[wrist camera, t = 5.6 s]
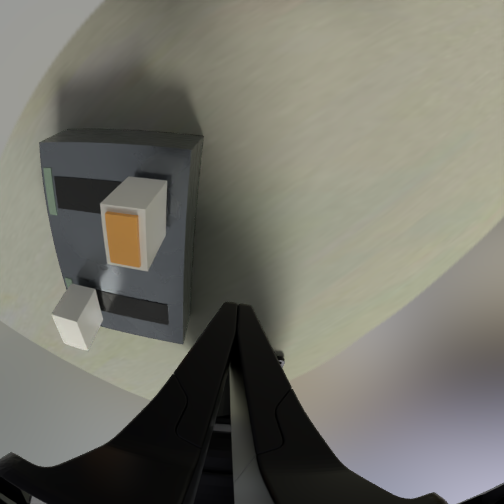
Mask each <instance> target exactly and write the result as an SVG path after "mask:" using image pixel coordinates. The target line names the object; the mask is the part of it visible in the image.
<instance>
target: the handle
mask: <svg viewBox="0 0 504 504" xmlns="http://www.w3.org/2000/svg"><path fill="white" fill-rule="evenodd" d="M51 315H52V317H53V319H54V322H55V324H56V326H57V328H58V331H59V333H60V335H61V337H62V339H63V341H64V344H67V345H70V346H73V347H76V348H80V349H83V350H86V351H89V349H90V346H91V344H92V342H93V340H94V338H95V335H96V333H97V331H98V329H99V327H100V325H101V323H102V321H103V317H102V313H101V309H100V305H99V302H98V298H97V293H96V289H93V288H89V287H85V286H80V285H76V284H72V283H71V284H70V286H69V287H68V289H67V291H66V292H65V294H64V295H63V297H62V298H61V300H60V301H59V303H58V304H57V306H56V308H55V309H54V311H53V312H52V314H51Z"/></svg>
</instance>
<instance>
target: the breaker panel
mask: <svg viewBox="0 0 504 504" xmlns="http://www.w3.org/2000/svg"><path fill="white" fill-rule="evenodd" d="M203 138H204V136H197V135H188V134H178V133H167V132H154V131H138V130H116V129H67V130H65V131H63V132H60V133H58V134H56V135H54V136H52V137H50V138H48V139H45V140H43V141H41V142H39V145H40V158H41V168H42V177H43V185H44V192H45V199H46V205H47V211H48V216H49V222H50V227H51V231H52V236H53V241H54V245H55V249H56V253H57V257H58V261H59V265H60V269H61V272H62V276H63V279H64V283H65V286H66V289H68V287H69V286H70V284H71V283H72V284H76V285H80V286H85V287H89V288H93V289H96V293H97V298H98V302H99V305H100V309H101V313H102V317H103V321H102V323H101V325H100V326H101V327H105V328H109V329H113V330H117V331H122V332H126V333H130V334H134V335H139V336H144V337H148V338H153V339H158V340H163V341H168V342H173V343H178V344H183V343H184V338H185V334H186V330H187V326H188V322H189V318H190V304H191V280H192V261H193V245H194V230H195V217H196V205H197V194H198V183H199V173H200V164H201V155H202V146H203ZM127 177H139V178H148V179H157V180H165V181H167V202H166V236H165V238H164V240H163V242H162V244H161V246H160V248H159V250H158V252H157V254H156V256H155V258H154V260H153V262H152V264H151V266H150V268H149V270H148V271H142V270H137V269H131V268H126V267H121V266H115V265H110V264H107V258H106V251H105V244H104V236H103V228H102V219H101V209H100V203H101V202H102V201H103V200H104V199H105V198H106V197H107V196H108V195H109V194H110V193H111V192H113V191H114V190H115V189H116V188H117V187H118V186H119V185H120V184H121V183H122V182H123V181H124V180H125V179H126V178H127Z"/></svg>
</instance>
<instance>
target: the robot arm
mask: <svg viewBox="0 0 504 504" xmlns="http://www.w3.org/2000/svg"><path fill="white" fill-rule="evenodd" d="M284 363H285V362H284V358H283V357H279V356H276V355H275V353H274V351H273V349H272V347H271V345H270V343H269V341H268V338H267V336H266V334H265V332H264V330H263V328H262V326H261V324H260V322H259V320H258V318H257V316H256V314H255V312H254V310H253V308H252V306H251V305H247V304H239V305H238V304H237V303H233V302H225V303H224V304H223V305H222V307H221V308H220V309H219V311H218V312H217V314H216V315H215V316H214V318H213V319H212V321H211V322H210V323H209V325H208V326H207V327H206V329H205V330H204V332H203V333H202V334H201V336H200V337H199V339H198V340H197V341H196V343H195V344H194V345H193V347H192V348H191V350H190V351H189V352H188V354H187V355H186V356H185V358H184V359H183V361H182V362H181V363H180V365H179V366H178V367H177V369H176V370H175V372H174V374H172V376H171V377H170V378H169V380H168V381H167V382H166V384H165V385H164V386H163V387H162V389H161V390H160V391H159V392H158V394H157V395H156V396H155V397H154V398H153V399H152V400H151V402H150V403H149V404H148V405H147V406H146V407H145V408H144V409H143V410H142V411H141V412H140V413H139V414H138V415H137V416H136V417H135V418H134V419H133V420H132V421H131V422H130V423H129V424H128V425H127V426H126V427H125V428H124V429H123V430H122V431H121V432H120V433H119V434H117V435H116V436H115V437H114V438H113V439H111V440H110V441H109V442H107V443H106V444H104V445H102V446H100V447H98V448H96V449H94V450H91V451H89V452H87V453H85V454H82V455H80V456H78V457H76V458H73V459H71V460H69V461H66V462H64V463H61V464H59V465H56V466H52V467H41V466H37V465H34V464H32V463H30V462H28V461H27V460H25V459H23V458H22V457H20V456H18V455H16V454H14V453H12V452H10V453H9V454H7V455H5V456H4V457H2V458H1V459H0V504H448V503H447V501H445V500H444V499H443V498H442V497H440V496H439V495H438V494H436V493H434V492H433V493H429V494H426V495H424V496H421V497H418V498H414V499H405V498H401V497H398V496H395V495H393V494H391V493H389V492H388V491H386V490H384V489H382V488H380V487H378V486H377V485H375V484H373V483H371V482H369V481H368V480H366V479H364V478H363V477H361V476H359V475H357V474H356V473H354V472H353V471H351V470H349V469H348V468H347V467H346V466H344V465H343V464H342V463H341V462H340V461H339V459H338V458H337V457H336V456H335V454H334V453H333V452H332V450H331V449H330V448H329V446H328V445H327V443H326V442H325V441H324V439H323V438H322V436H321V435H320V434H319V432H318V431H317V429H316V428H315V427H314V425H313V423H312V422H311V420H310V419H309V417H308V416H307V414H306V413H305V411H304V409H303V408H302V406H301V404H300V402H299V400H298V398H297V397H296V394H295V392H294V391H293V389H291V385H290V383H289V381H288V379H287V377H286V375H285V373H284V371H283V369H282V368H283V366H284ZM458 504H504V483H502V484H500V485H498V486H496V487H494V488H492V489H490V490H488V491H486V492H483V493H481V494H479V495H477V496H474V497H472V498H470V499H467V500H465V501H463V502H461V503H458Z"/></svg>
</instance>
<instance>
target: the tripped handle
mask: <svg viewBox="0 0 504 504" xmlns="http://www.w3.org/2000/svg"><path fill="white" fill-rule="evenodd" d="M166 202H167V181H165V180H157V179H148V178H139V177H127V178H126V179H125V180H124V181H123V182H122V183H121V184H120V185H119V186H118V187H117V188H116V189H115V190H114V191H113V192H111V193H110V194H109V195H108V196H107V197H106V198H105V199H104V200H103V201H102V202H101V203H100V209H101V219H102V228H103V236H104V244H105V251H106V258H107V264H110V265H115V266H121V267H126V268H131V269H137V270H142V271H148V270H149V268H150V266H151V264H152V262H153V260H154V258H155V256H156V254H157V252H158V250H159V248H160V246H161V244H162V242H163V240H164V238H165V236H166Z"/></svg>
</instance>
